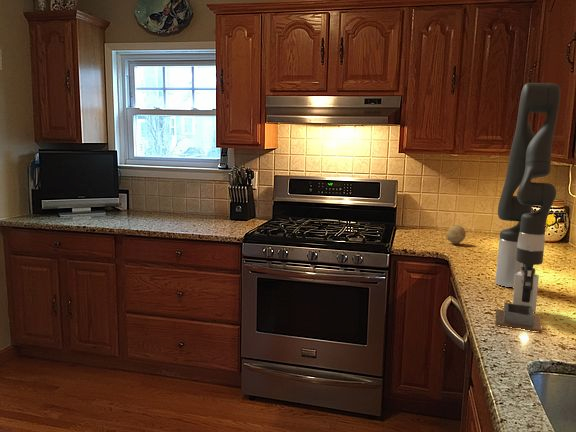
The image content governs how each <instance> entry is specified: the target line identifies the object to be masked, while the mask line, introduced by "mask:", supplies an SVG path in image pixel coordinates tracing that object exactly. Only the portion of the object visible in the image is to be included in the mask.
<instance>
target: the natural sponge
mask: <svg viewBox="0 0 576 432" xmlns="http://www.w3.org/2000/svg"><path fill="white" fill-rule="evenodd" d="M465 238H466V230H465V228H464V227H463V226H461V225H459V224H456V225H452V226H451V227H450V228H449V229H448V231H447V233H446V239H447V240H448V241H449V242H450V243H452V244H453V245H459V244H461V242H463V241H464V240H465Z"/></svg>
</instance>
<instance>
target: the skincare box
mask: <svg viewBox="0 0 576 432" xmlns="http://www.w3.org/2000/svg"><path fill="white" fill-rule="evenodd" d="M521 279H522V274H521V272H518V273H516V274H515V280H514V288H513V295H512V303H513V304H520V305H527V306H532V309H533V312H535V311H536V312H537V302H538V301H537V298H538V289H539V274H535V276H534V283H533V286H532V288H533V289H532V290H531V295H530V302H529V303H527V302H522V293H523V289H522V287H523V283H522V282H521ZM525 285H526V286H530V284H527V283H526V284H525ZM536 312H535V313H536Z"/></svg>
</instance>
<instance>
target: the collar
mask: <svg viewBox="0 0 576 432" xmlns="http://www.w3.org/2000/svg"><path fill="white" fill-rule="evenodd" d="M495 318H496V320H495V324H494V325H500V326H507V327H512V328H521V329H525V330H530V331H539V332H541V333H542V332H543V331H542V325H541V320H540V316H539V315H538V314H535V313H534V314H533V309H532V306H527V305H520V304H513V302H512V303H511V302H504V305H503V309H495ZM530 331H529V332H530Z"/></svg>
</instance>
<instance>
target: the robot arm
mask: <svg viewBox="0 0 576 432" xmlns="http://www.w3.org/2000/svg"><path fill="white" fill-rule="evenodd" d="M561 93H562V92H561V87H560V86H559V84H557V83H550V82H526V83H525V84H524V85H523V87H522V90H521V92H520V98H519V104H518V110H517V111H518V113H517V118H516V119H517V120H516V125H515V126H516V127H515V130H514V131H515V132H514V134H513V135H514V136H513V140H512V144H511V147H510V148H511V149H510V152H509V157H508V164H507V170H506V175H505V179H504V185H503V187H502V190H501V193H500V194H501V195H500V198H499V201H498V205H497V216H498V219H500V220H502V221H506V222H507V221H508V222H517V224H515V225H514V226H511V227H509V228H506V229H505V228H504V229H503V230H500V231H499V239H498V250H497V261H496V262H497V263H496V271H495V280H494V284H495V283H496V284H498V285H497V286H499V285H501V286H500V287H502V286H505V287H504V288H506V287H514V280H515V274H516V273H518V272H521V274H522V279H521V282H522V283H523V287H522V289H523V293H522V302H527V303H529V302H530V295H531V290H532V289H533V288H532V286H533V283H534V276H535V275H536V267H534V266H535V265H536V266H539V265H541V264H543V261H544V252H545V244H546V238H545V236H546V234H545V233H546V227H547V220H548V216H549V213H550V210H551V209H552V206H553V204H554V202H555V200H556V197H557V189H556V187H555V186H554V184H553V183H550V182H549V183H547V182H534V181H533V180H534V179H537V178H538V179H539V178H542V177H543V178H544V177H547V176H548V175H549V174H550V173H551V168H552V165H551V164H552V151H553V150H552V148H553V143H554V137H555V131H556V126H557V123H558V122H557V121H558V115H559V109H560V104H561ZM530 113H532V114H546V115H545V116H546V117H545V119H544V122H543V124H542V126H541V127H540V129H539V130H538V131H537V133H535V132H534V131H533V128H532V126H531V122H530V119H529V117H530ZM516 191H517V193H516V195H514V194H515V192H516ZM533 206H535V207H537V206H538V207H539V209H537V210H536V211H533ZM532 211H533V212H532ZM526 283H527V284H530V286H526V285H525V284H526ZM496 284H495V285H496Z"/></svg>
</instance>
